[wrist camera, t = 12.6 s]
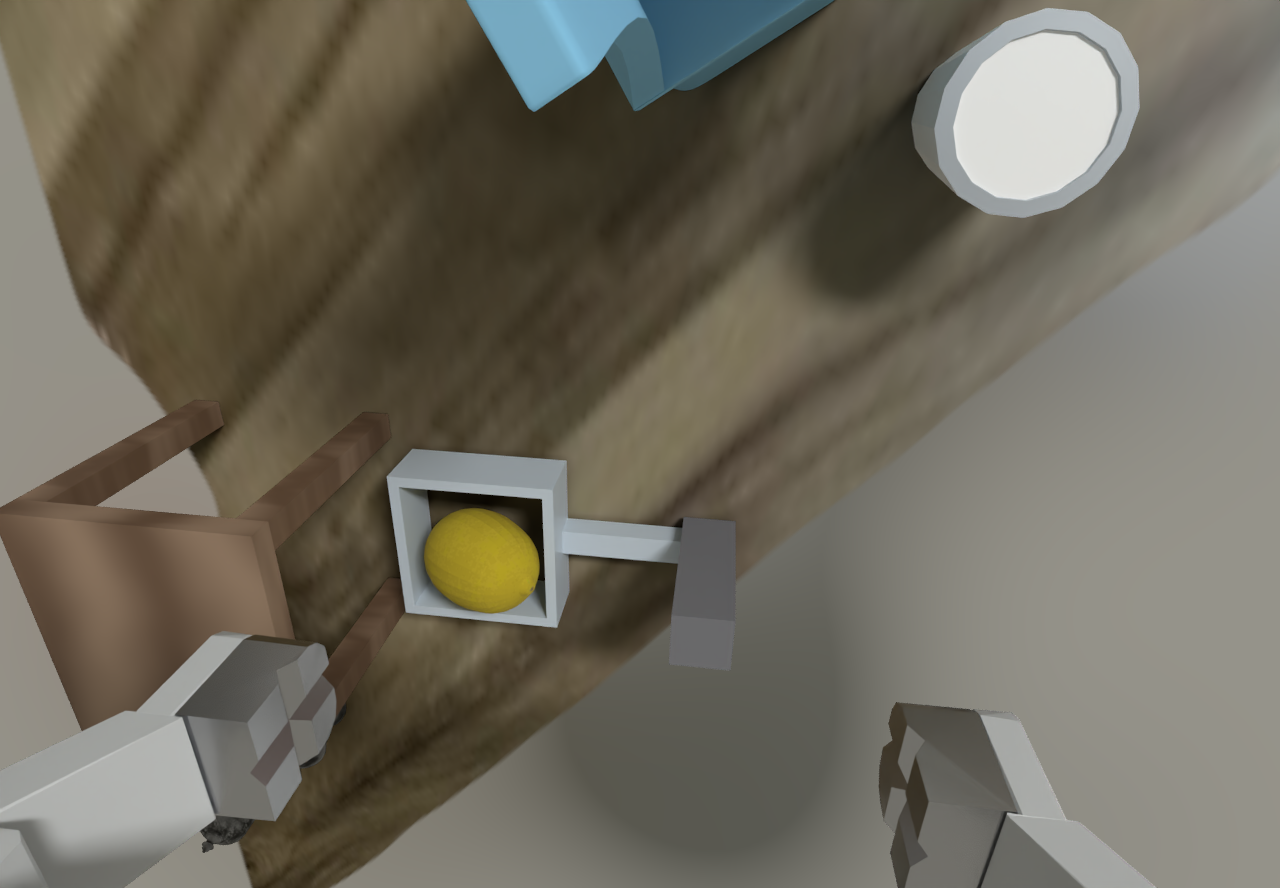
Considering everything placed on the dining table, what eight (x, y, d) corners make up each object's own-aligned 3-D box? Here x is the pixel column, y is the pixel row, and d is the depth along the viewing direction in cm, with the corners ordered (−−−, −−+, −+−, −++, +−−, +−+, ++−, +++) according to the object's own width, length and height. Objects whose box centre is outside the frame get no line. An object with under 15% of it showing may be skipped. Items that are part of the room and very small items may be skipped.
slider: (428, 577, 46) (363, 678, 38) (412, 448, 43) (336, 530, 34) (727, 606, 45) (725, 717, 37) (739, 473, 41) (741, 566, 33)
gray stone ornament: (280, 656, 52) (159, 803, 41) (358, 688, 52) (259, 841, 41) (266, 710, 54) (149, 862, 43) (341, 740, 54) (243, 897, 44)
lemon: (403, 592, 43) (499, 655, 39) (388, 517, 40) (490, 578, 36) (474, 544, 47) (567, 598, 43) (464, 473, 44) (564, 523, 40)
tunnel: (241, 581, 49) (83, 735, 37) (194, 399, 43) (-10, 512, 31) (412, 598, 48) (306, 762, 36) (388, 414, 42) (251, 536, 30)
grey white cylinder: (968, 228, 34) (1020, 256, 28) (864, 127, 33) (894, 132, 27) (1096, 103, 31) (1186, 103, 25) (988, -13, 30) (1055, -43, 24)
